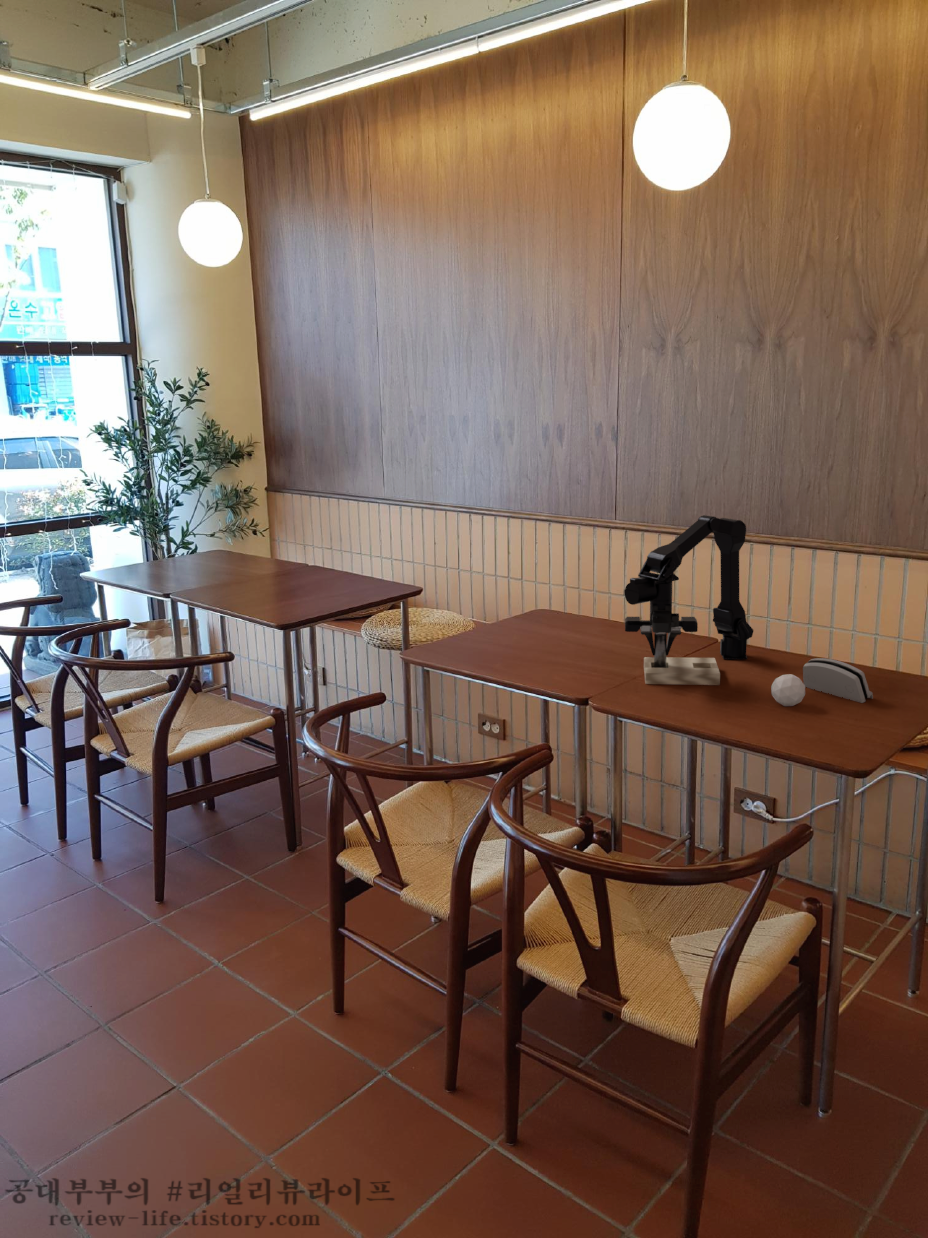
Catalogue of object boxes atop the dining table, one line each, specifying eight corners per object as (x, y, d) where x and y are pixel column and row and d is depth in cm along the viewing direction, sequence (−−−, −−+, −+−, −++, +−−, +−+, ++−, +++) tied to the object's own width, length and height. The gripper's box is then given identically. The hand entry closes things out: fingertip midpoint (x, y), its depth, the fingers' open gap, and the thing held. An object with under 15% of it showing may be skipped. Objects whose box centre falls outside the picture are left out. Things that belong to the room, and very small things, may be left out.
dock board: (714, 668, 256) (714, 657, 255) (719, 684, 243) (720, 674, 242) (643, 667, 259) (643, 657, 259) (645, 683, 246) (645, 673, 245)
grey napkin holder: (874, 698, 229) (869, 664, 225) (863, 708, 227) (858, 675, 223) (814, 682, 242) (808, 649, 238) (803, 691, 240) (797, 659, 236)
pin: (665, 667, 253) (666, 632, 250) (666, 671, 250) (667, 635, 247) (653, 667, 253) (654, 632, 251) (654, 671, 250) (654, 635, 248)
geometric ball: (786, 718, 226) (776, 698, 221) (771, 697, 232) (761, 677, 228) (815, 703, 225) (806, 682, 220) (798, 682, 231) (789, 662, 227)
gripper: (625, 606, 240) (625, 664, 244) (700, 606, 237) (698, 664, 241) (625, 595, 251) (624, 651, 255) (696, 595, 248) (695, 652, 252)
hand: (660, 655), depth 251 cm, fingers closed on pin, 3 cm apart
